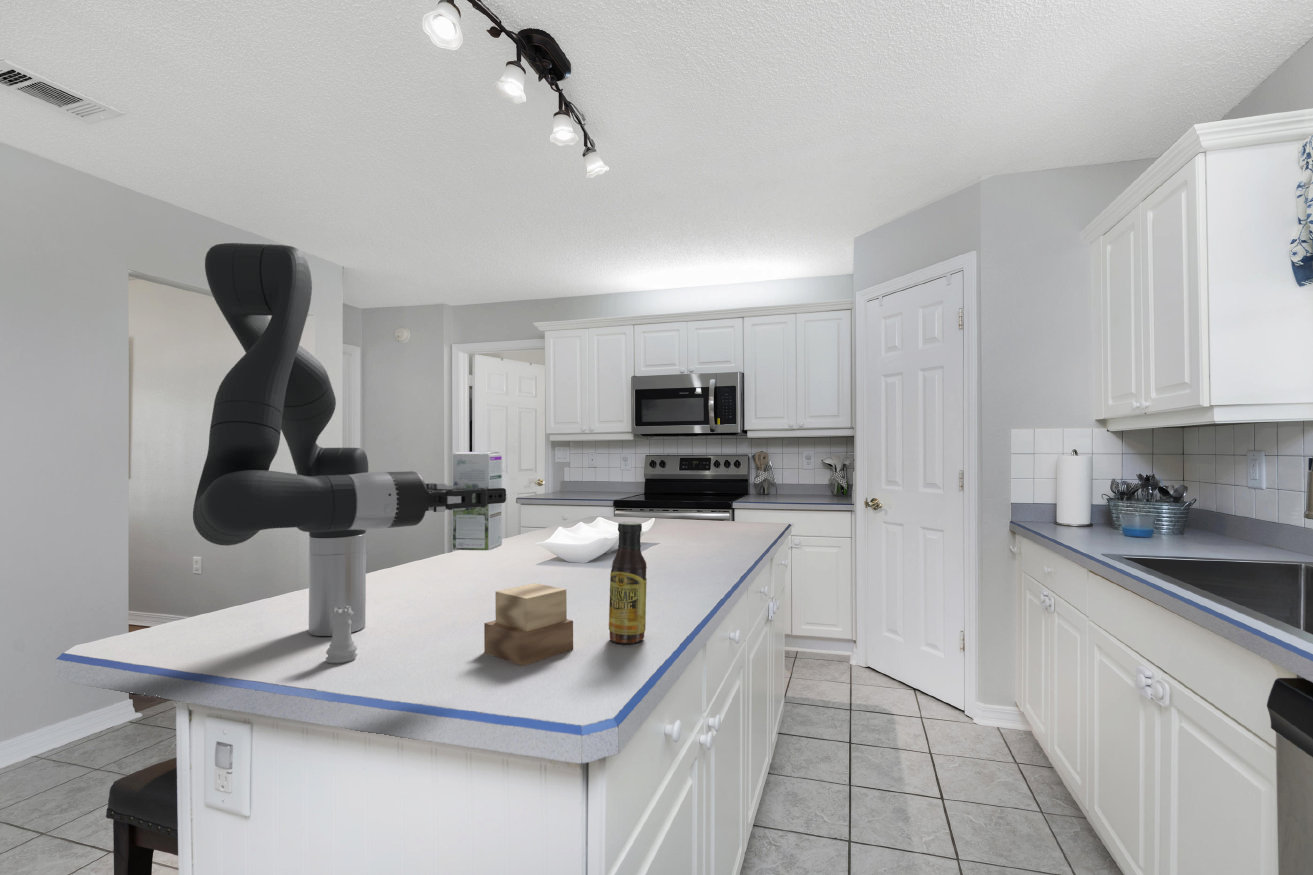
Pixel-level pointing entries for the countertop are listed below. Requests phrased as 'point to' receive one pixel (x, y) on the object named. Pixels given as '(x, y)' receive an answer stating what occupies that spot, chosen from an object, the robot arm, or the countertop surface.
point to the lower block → (527, 642)
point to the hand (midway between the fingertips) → (489, 494)
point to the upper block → (531, 606)
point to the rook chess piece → (341, 637)
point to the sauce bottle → (628, 587)
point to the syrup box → (475, 523)
